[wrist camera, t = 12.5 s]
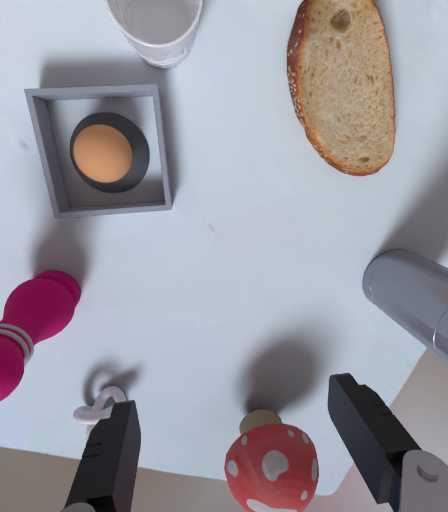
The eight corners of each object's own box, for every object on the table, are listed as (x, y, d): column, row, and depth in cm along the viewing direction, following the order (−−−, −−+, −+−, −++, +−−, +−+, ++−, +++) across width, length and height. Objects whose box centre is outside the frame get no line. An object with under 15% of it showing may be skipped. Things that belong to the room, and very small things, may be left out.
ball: (132, 125, 36) (121, 120, 30) (140, 178, 38) (130, 183, 32) (79, 128, 35) (57, 123, 30) (89, 181, 37) (71, 187, 32)
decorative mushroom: (209, 440, 53) (218, 545, 39) (230, 377, 49) (248, 468, 35) (281, 448, 55) (314, 549, 41) (306, 388, 52) (352, 477, 38)
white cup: (165, -29, 32) (156, -105, 22) (213, 43, 34) (223, 2, 25) (109, 24, 33) (77, -27, 23) (159, 90, 35) (149, 68, 26)
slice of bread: (373, 184, 42) (390, 187, 39) (252, 137, 38) (258, 135, 35) (440, 41, 37) (467, 30, 34) (310, -29, 34) (325, -50, 30)
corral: (159, 89, 35) (157, 84, 32) (172, 205, 39) (171, 209, 36) (38, 94, 34) (24, 89, 31) (65, 213, 38) (54, 218, 35)
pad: (143, 110, 36) (143, 110, 35) (153, 189, 39) (153, 190, 38) (62, 114, 35) (61, 114, 35) (79, 194, 38) (78, 195, 38)
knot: (107, 370, 46) (97, 399, 41) (147, 398, 49) (142, 430, 43) (74, 400, 47) (59, 433, 42) (115, 426, 50) (106, 461, 44)
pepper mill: (19, 303, 41) (-120, 431, 22) (37, 257, 40) (-97, 354, 21) (73, 323, 43) (-14, 456, 24) (92, 280, 41) (15, 387, 23)
